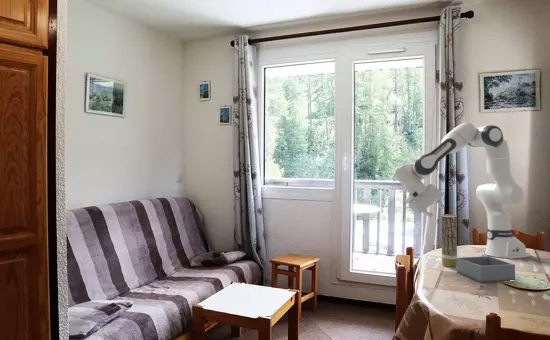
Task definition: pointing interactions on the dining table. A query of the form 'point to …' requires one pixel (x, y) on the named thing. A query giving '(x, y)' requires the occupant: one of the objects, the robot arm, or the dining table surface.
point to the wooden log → (449, 240)
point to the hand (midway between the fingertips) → (437, 212)
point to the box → (485, 269)
